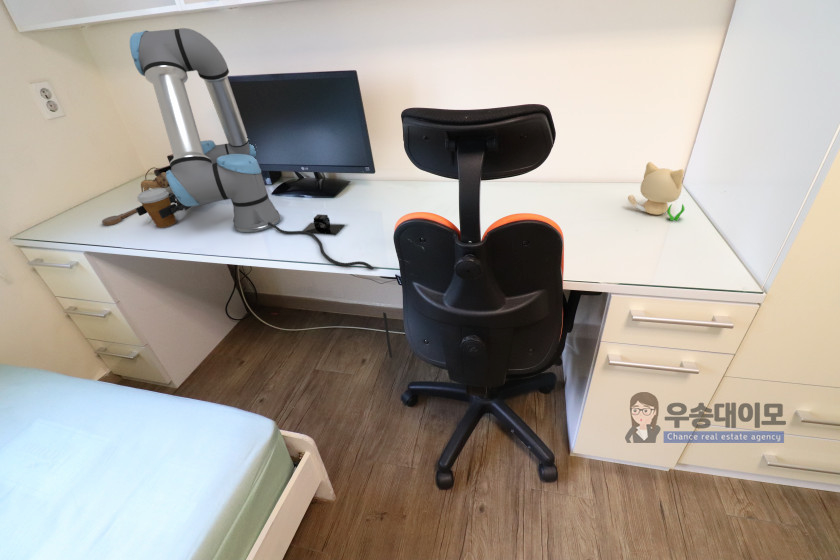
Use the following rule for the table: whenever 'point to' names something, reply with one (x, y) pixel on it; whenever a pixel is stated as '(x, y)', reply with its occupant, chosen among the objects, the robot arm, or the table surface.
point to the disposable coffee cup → (157, 206)
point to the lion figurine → (155, 182)
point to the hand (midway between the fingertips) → (149, 213)
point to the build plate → (323, 226)
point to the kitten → (659, 190)
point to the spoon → (117, 218)
